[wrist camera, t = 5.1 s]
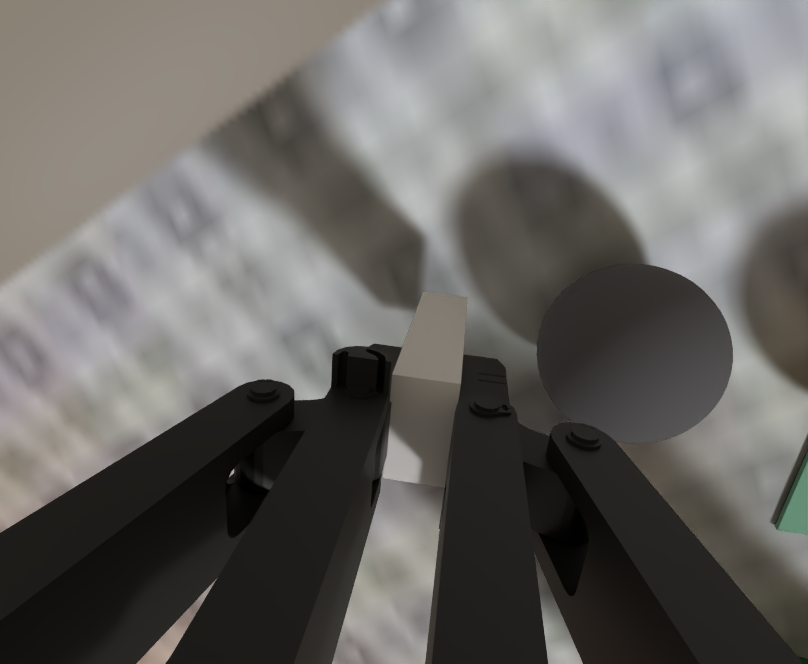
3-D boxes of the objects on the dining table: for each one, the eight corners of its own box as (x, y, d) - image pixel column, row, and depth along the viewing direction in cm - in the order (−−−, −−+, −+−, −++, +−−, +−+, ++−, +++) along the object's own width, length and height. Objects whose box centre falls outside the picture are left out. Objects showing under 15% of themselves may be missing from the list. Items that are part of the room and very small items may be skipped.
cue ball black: (735, 496, 14) (688, 412, 19) (787, 291, 12) (720, 260, 17) (522, 458, 15) (532, 389, 20) (544, 270, 13) (549, 247, 19)
